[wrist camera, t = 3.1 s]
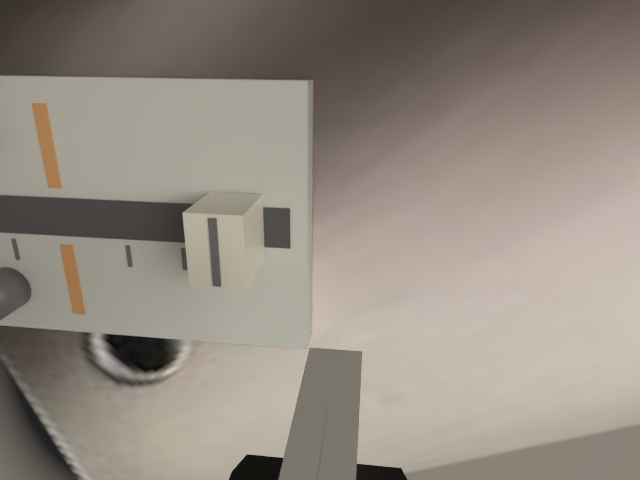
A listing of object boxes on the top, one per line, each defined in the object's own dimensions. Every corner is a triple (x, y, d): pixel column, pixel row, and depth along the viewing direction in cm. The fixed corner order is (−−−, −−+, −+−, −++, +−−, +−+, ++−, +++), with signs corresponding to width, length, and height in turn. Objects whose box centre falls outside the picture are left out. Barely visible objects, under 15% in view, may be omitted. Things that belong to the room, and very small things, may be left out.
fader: (210, 191, 26) (181, 213, 22) (262, 194, 26) (242, 216, 22) (215, 257, 28) (188, 288, 24) (264, 260, 27) (246, 292, 23)
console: (-51, 74, 28) (-121, 75, 24) (313, 79, 26) (301, 82, 22) (8, 310, 33) (-41, 341, 30) (311, 332, 31) (301, 370, 27)
